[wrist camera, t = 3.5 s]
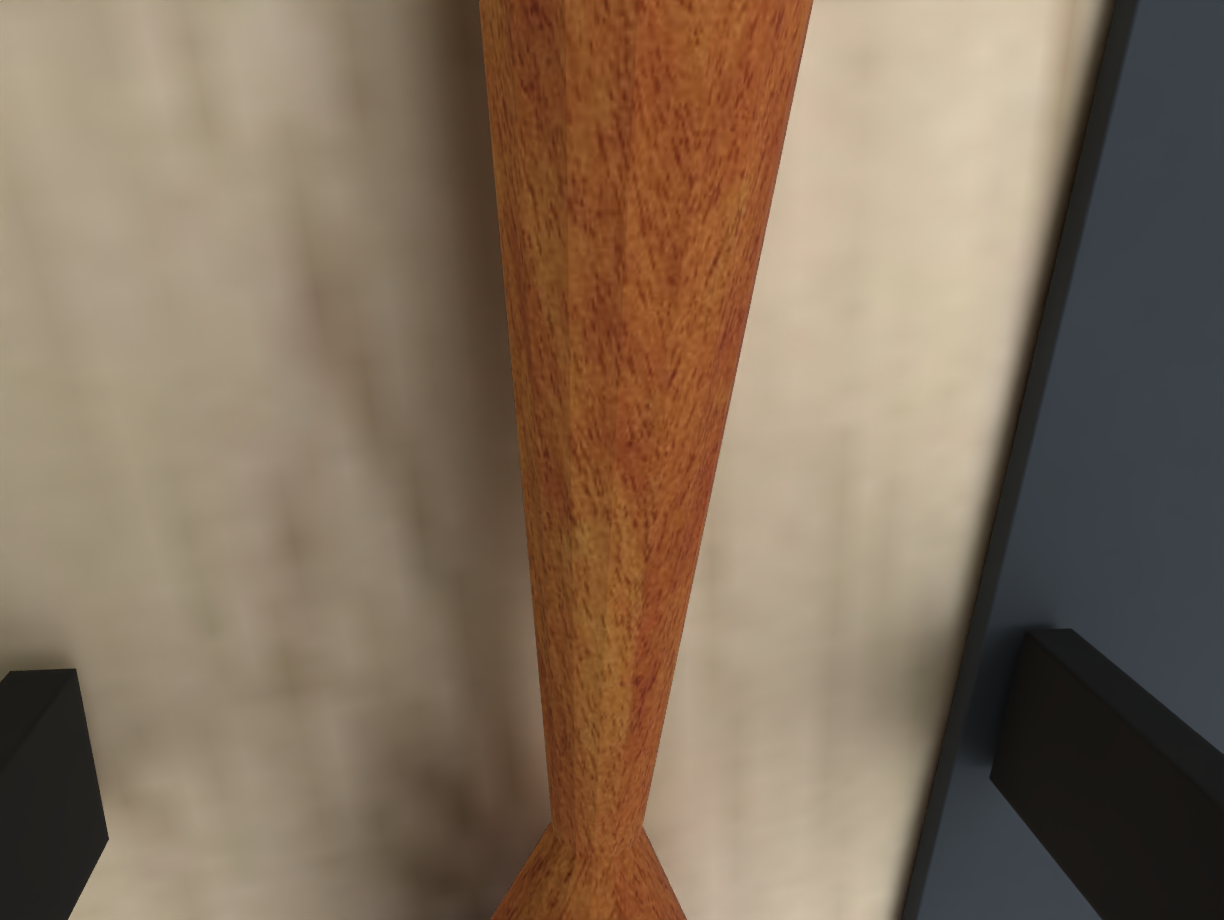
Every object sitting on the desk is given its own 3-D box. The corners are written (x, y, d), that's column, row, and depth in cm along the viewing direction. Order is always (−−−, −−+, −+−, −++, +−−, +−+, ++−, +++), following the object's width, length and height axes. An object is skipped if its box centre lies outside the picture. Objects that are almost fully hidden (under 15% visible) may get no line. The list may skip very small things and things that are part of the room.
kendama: (1214, -217, 6) (843, 1538, 12) (777, -29, 11) (668, 1113, 17) (299, -492, 4) (385, 1789, 10) (290, -106, 9) (350, 1218, 15)
